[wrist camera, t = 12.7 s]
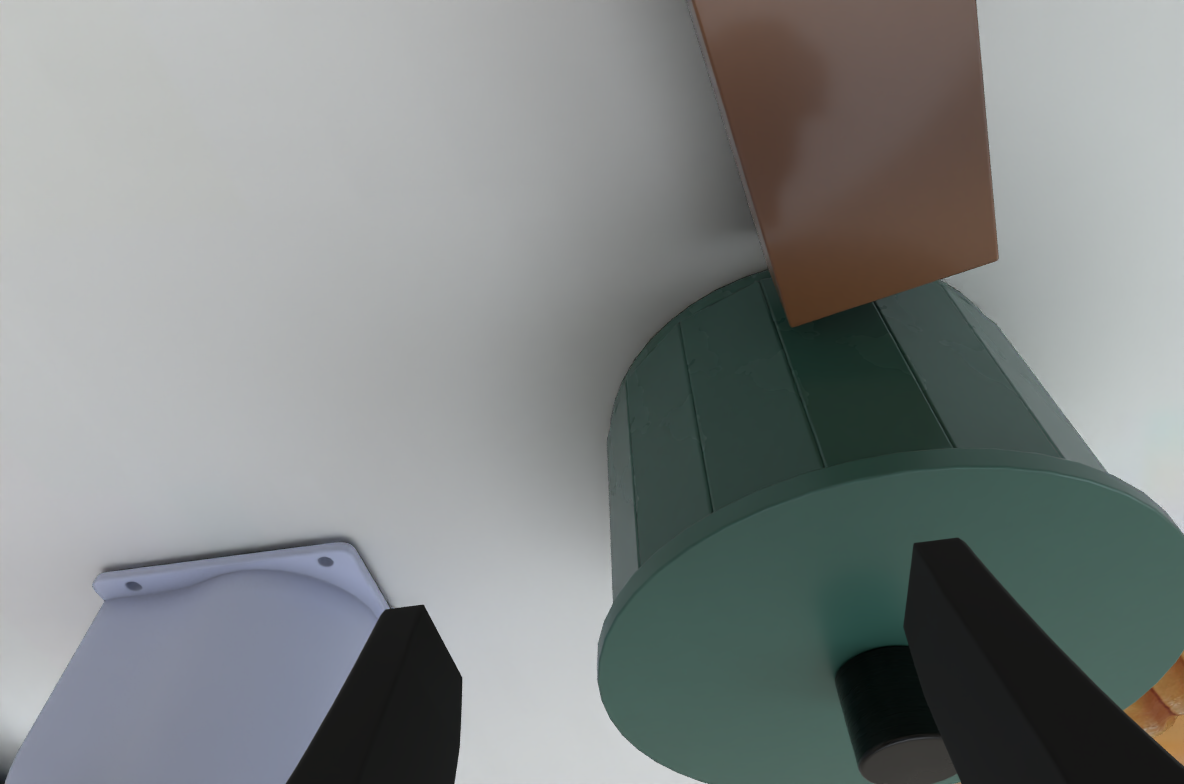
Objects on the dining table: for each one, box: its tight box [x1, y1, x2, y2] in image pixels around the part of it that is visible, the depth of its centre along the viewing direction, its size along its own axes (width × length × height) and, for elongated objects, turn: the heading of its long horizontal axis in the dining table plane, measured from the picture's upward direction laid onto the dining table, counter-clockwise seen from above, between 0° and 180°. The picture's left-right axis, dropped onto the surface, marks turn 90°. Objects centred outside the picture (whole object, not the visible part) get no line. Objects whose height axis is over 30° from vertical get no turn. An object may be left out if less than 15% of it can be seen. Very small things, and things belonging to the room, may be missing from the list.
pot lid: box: [597, 448, 1184, 784], centre depth 16 cm, size 13×13×3 cm
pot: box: [607, 270, 1108, 603], centre depth 20 cm, size 12×12×8 cm
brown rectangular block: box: [686, 0, 999, 328], centre depth 14 cm, size 9×4×4 cm, turn 22°
